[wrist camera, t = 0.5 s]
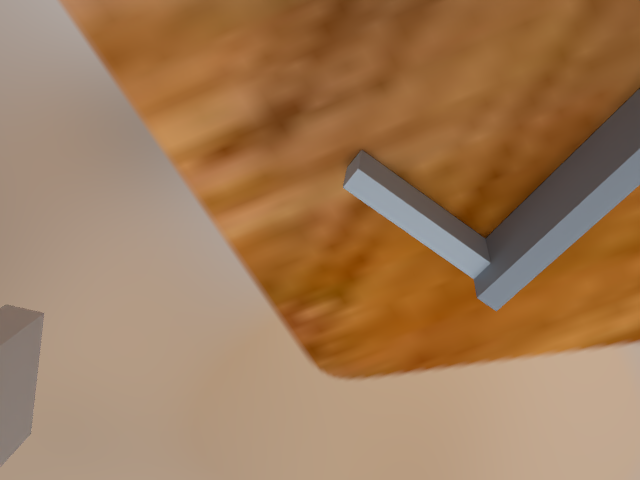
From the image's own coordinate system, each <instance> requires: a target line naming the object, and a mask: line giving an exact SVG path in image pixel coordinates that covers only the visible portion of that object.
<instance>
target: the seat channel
mask: <svg viewBox="0 0 640 480" xmlns="http://www.w3.org/2000/svg"><path fill="white" fill-rule="evenodd" d="M639 185H640V88H639V89H638V90H637V91H636V92H635V93H634V94H633V95H632V96H631V97H630V98H629V99H628V100H627V101H626V102H625V103H624V104H623V105H622V106H621V107H620V108H619V109H618V110H617V111H616V112H615V113H614V114H613V115H612V116H611V117H610V118H609V119H608V120H607V121H606V122H605V123H604V124H603V125H602V126H600V127H599V128H598V129H597V130H596V131H595V132H594V133H593V134H592V135H591V136H590V137H589V138H588V139H587V140H586V141H585V142H584V143H583V144H582V145H581V146H580V147H579V148H578V149H577V150H576V151H575V152H574V153H573V154H572V155H571V156H570V157H569V158H568V159H567V160H566V161H565V162H564V163H563V164H562V165H560V166H559V167H558V168H557V169H556V170H555V171H554V172H553V173H552V174H551V175H550V176H549V177H548V178H547V179H546V180H545V181H544V182H543V183H542V184H541V185H540V186H539V187H538V188H537V189H536V190H535V191H534V192H533V193H532V194H531V195H530V196H529V197H528V198H527V199H526V200H525V201H524V202H523V203H521V204H520V205H519V206H518V207H517V208H516V209H515V210H514V211H513V212H512V213H511V214H510V215H509V216H508V217H507V218H506V219H505V220H504V221H503V222H502V223H501V224H500V225H499V226H498V227H497V228H496V229H495V230H494V231H493V232H492V233H491V234H490V235H489V236H488V237H487V238H486V239H485V238H484V237H482V236H481V235H479V234H478V233H477V232H475V231H474V230H472V229H471V228H470V227H468V226H467V225H466V224H464V223H463V222H461V221H460V220H459V219H457V218H456V217H454V216H453V215H452V214H450V213H449V212H447V211H446V210H445V209H443V208H442V207H441V206H439V205H438V204H436V203H435V202H434V201H432V200H431V199H429V198H428V197H427V196H425V195H424V194H422V193H421V192H420V191H418V190H417V189H416V188H414V187H413V186H411V185H410V184H409V183H407V182H406V181H404V180H403V179H402V178H400V177H399V176H397V175H396V174H395V173H393V172H392V171H391V170H389V169H388V168H386V167H385V166H384V165H382V164H381V163H379V162H378V161H377V160H375V159H374V158H372V157H371V156H370V155H368V154H367V153H366V152H364V151H363V150H361V151H360V152H359V153H358V155H357V156H356V157H355V158H354V160H353V161H352V162H351V163H350V165H349V166H348V167H347V171H346V175H345V180H344V184H343V188H344V189H346V190H347V191H348V192H350V193H351V194H353V195H354V196H356V197H357V198H358V199H360V200H361V201H363V202H364V203H366V204H367V205H368V206H370V207H371V208H373V209H374V210H376V211H377V212H379V213H380V214H381V215H383V216H384V217H386V218H387V219H389V220H390V221H391V222H393V223H394V224H396V225H397V226H399V227H400V228H401V229H403V230H404V231H406V232H407V233H409V234H410V235H411V236H413V237H414V238H416V239H417V240H419V241H420V242H421V243H423V244H424V245H426V246H427V247H429V248H430V249H431V250H433V251H434V252H436V253H437V254H439V255H440V256H441V257H443V258H444V259H446V260H447V261H449V262H450V263H451V264H453V265H454V266H456V267H457V268H459V269H460V270H461V271H463V272H464V273H466V274H467V275H469V276H470V277H471V278H473V279H474V283H475V289H476V295H477V298H478V299H479V300H481V301H482V302H484V303H485V304H487V305H488V306H490V307H491V308H492V309H494V310H495V311H497V310H498V309H499V308H501V307H502V306H503V305H504V304H505V303H506V302H507V301H509V300H510V299H511V298H512V297H513V296H514V295H515V294H516V293H518V292H519V291H520V290H521V289H522V288H523V287H524V286H526V285H527V284H528V283H529V282H530V281H531V280H532V279H533V278H535V277H536V276H537V275H538V274H539V273H540V272H541V271H543V270H544V269H545V268H546V267H547V266H548V265H549V264H550V263H552V262H553V261H554V260H555V259H556V258H557V257H558V256H559V255H561V254H562V253H563V252H564V251H565V250H566V249H567V248H569V247H570V246H571V245H572V244H573V243H574V242H575V241H576V240H578V239H579V238H580V237H581V236H582V235H583V234H584V233H586V232H587V231H588V230H589V229H590V228H591V227H592V226H593V225H595V224H596V223H597V222H598V221H599V220H600V219H601V218H603V217H604V216H605V215H606V214H607V213H608V212H609V211H610V210H612V209H613V208H614V207H615V206H616V205H617V204H618V203H619V202H621V201H622V200H623V199H624V198H625V197H626V196H627V195H629V194H630V193H631V192H632V191H633V190H634V189H635V188H636V187H638V186H639Z"/></svg>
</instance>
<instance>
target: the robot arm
mask: <svg viewBox="0 0 640 480" xmlns="http://www.w3.org/2000/svg"><path fill="white" fill-rule="evenodd" d="M43 318H44V313H42V312H37V311H33V310H28V309H24V308H20V307H15V306H11V305H4V306H3V307H1V308H0V467H1V466H2V465H3V464H4V463H5V462H6V460H7V459H8V458H9V457H10V456H11V455H12V454H13V453H14V452H15V451H16V449H17V448H18V447H19V446H20V445H21V444H22V443H23V442H24V441H25V440H26V438H27V437H28V436H29V435H30V434H31V428H32V419H33V409H34V400H35V391H36V382H37V373H38V363H39V354H40V346H41V337H42V336H41V335H42V328H43Z"/></svg>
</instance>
